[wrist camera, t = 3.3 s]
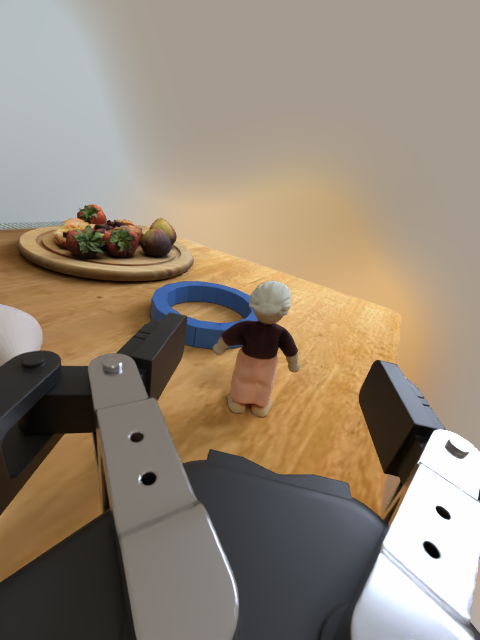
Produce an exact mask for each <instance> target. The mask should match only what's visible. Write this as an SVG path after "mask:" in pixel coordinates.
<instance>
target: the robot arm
mask: <svg viewBox="0 0 480 640" xmlns="http://www.w3.org/2000/svg"><path fill="white" fill-rule="evenodd" d="M186 328H187V316H185V315H180V314H176V313H172V312H169V313H168V314H167V315H166V316H165V317H164V319H163V320H162V321H161V322H160V321H156V320H154V321H152V322H149V323H147V324H145V325H144V326H143V327H142V328H141V329H140V330H139V331H138V332H137V333H136V334H135V335H134V336H133V337H132V338H131V339H130V340H129V341H128V342H127V343H126V344H125V345H124V346H123V347H122V348H121V349H120V350H119V351H118V352H117V353H116V354H115V353H113V354H105V355H102V356H99V357H97V358H95V359H94V360H92V361H91V362H90V364H89V366H61V359H60V357H59V356H58V355H57V354H56V353H53V352H50V351H31V352H26V353H22V354H20V355H17V356H15V357H13V358H12V359H10V360H9V361H7V362H6V363H4V364H3V365H2V366H0V515H1V514H2V513H3V511H4V510H5V509H6V507H7V506H8V505H9V504H10V502H11V501H12V500H13V499H14V497H15V496H16V495H17V493H18V492H19V491H20V490H21V488H22V487H23V486H24V485H25V483H26V482H27V481H28V479H29V478H30V477H31V476H32V474H33V473H34V472H35V471H36V469H37V468H38V467H39V465H40V464H41V463H42V462H43V460H44V459H45V458H46V457H47V455H48V454H49V453H50V451H51V450H52V449H53V448H54V446H55V445H56V444H57V443H58V441H59V440H60V439H61V437H62V436H63V435H64V434H66V433H92V437H93V444H94V451H95V458H96V466H97V473H98V480H99V490H100V500H101V509H102V514H101V515H100V516H98V517H97V518H95V519H94V520H92V521H91V522H89V523H88V524H86V525H85V526H83V527H82V528H80V529H79V530H77V531H76V532H74V533H73V534H71V535H70V536H68V537H67V538H65V539H64V540H62V541H61V542H59V543H58V544H57V545H55V546H54V547H52V548H51V549H49V550H48V551H46V552H45V553H43V554H42V555H40V556H39V557H37V558H36V559H34V560H33V561H31V562H30V563H28V564H27V565H25V566H24V567H22V568H21V569H19V570H18V571H16V572H15V573H13V574H12V575H11V576H9V577H8V578H6V579H5V580H3V581H2V582H0V640H480V633H479V632H478V631H477V629H476V628H475V627H474V626H473V625H472V623H470V615H471V608H472V602H473V595H474V589H475V581H476V575H477V569H478V563H479V559H480V452H479V451H478V450H477V449H476V448H475V447H474V446H473V445H472V444H471V443H470V442H468V441H467V440H465V439H463V438H462V437H461V436H459V435H457V434H455V433H452V432H449V431H446V429H445V428H444V426H443V425H442V423H441V422H440V420H439V419H438V417H437V416H436V414H435V413H434V411H433V410H432V408H431V407H429V406H430V405H429V404H428V402H427V401H426V400H425V399H424V396H423V395H422V393H421V392H420V390H419V389H418V388H417V387H416V386H415V385H414V384H413V383H412V382H411V381H409V380H408V379H406V378H405V376H404V374H403V373H402V371H401V370H400V368H399V367H398V365H397V364H393V363H389V362H385V361H380V360H376V361H375V362H374V363H373V364H372V366H371V368H370V371H369V373H368V375H367V377H366V379H365V381H364V383H363V385H362V387H361V390H360V394H359V404H360V407H361V409H362V412H363V415H364V418H365V421H366V424H367V426H368V429H369V432H370V435H371V438H372V440H373V443H374V446H375V449H376V452H377V455H378V457H379V460H380V463H381V466H382V469H383V472H384V473H385V474H390V475H394V476H398V477H399V478H400V482H399V483H398V485H397V486H396V488H395V490H394V492H393V494H392V496H391V497H390V500H389V501H388V503H387V505H386V507H385V509H384V511H383V513H382V514H381V516H378V515H377V514H376V513H375V512H374V511H373V510H371V509H370V508H369V507H367V506H366V505H365V504H363V503H361V502H360V501H358V500H357V499H355V498H353V497H351V493H350V489H349V484H348V483H346V482H342V481H338V480H334V479H330V478H326V477H321V476H317V475H281V474H276V473H274V472H272V471H270V470H268V469H266V468H264V467H262V466H260V465H258V464H256V463H254V462H252V461H250V460H248V459H246V458H244V457H240V456H236V455H232V454H228V453H224V452H220V451H216V450H212V449H210V450H209V453H208V457H207V460H197V461H190V462H186V463H182V462H181V460H180V457H179V455H178V452H177V450H176V447H175V445H174V442H173V440H172V437H171V435H170V432H169V430H168V427H167V425H166V422H165V420H164V417H163V415H162V412H161V410H160V407H159V405H158V402H157V400H158V399H159V397H160V395H161V394H162V392H163V390H164V388H165V387H166V385H167V383H168V381H169V380H170V378H171V376H172V375H173V373H174V371H175V369H176V368H177V366H178V364H179V362H180V361H181V358H182V355H183V352H184V346H185V337H186Z"/></svg>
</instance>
